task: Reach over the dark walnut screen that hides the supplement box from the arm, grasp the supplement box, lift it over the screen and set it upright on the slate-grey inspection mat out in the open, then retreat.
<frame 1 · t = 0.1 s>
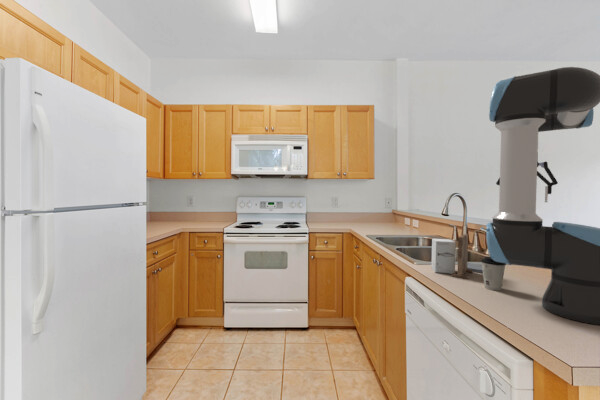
hand: (524, 202, 122), 28 cm above the countertop, fingers open, 13 cm apart
coffee cup: (492, 288, 96), on the countertop
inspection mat: (479, 270, 119), on the countertop
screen: (462, 274, 112), on the countertop
supplement box: (442, 271, 116), on the countertop
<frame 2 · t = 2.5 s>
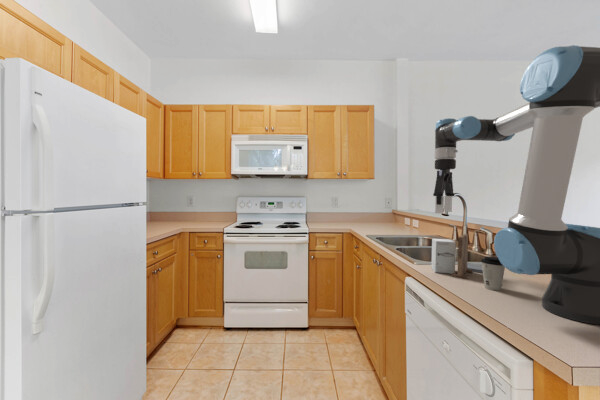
hand: (443, 212, 116), 24 cm above the countertop, fingers open, 13 cm apart
nothing on the countertop moved.
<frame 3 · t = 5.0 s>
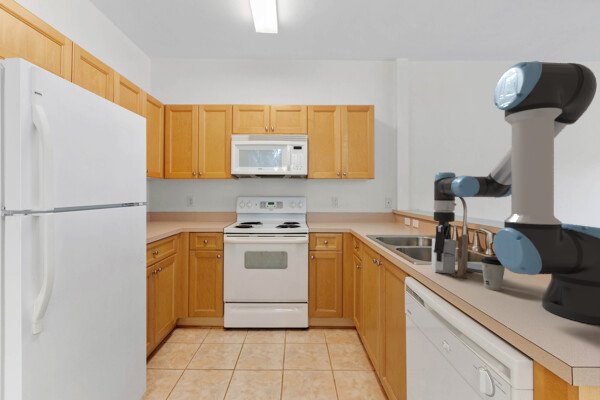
hand: (442, 267, 116), 2 cm above the countertop, fingers closed on supplement box, 9 cm apart
supplement box: (442, 271, 116), on the countertop, touching gripper
everything else where it was.
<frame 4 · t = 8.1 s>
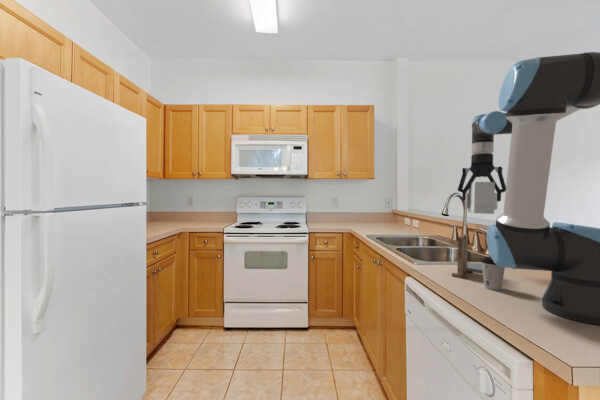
hand: (480, 209, 118), 25 cm above the countertop, fingers closed on supplement box, 9 cm apart
supplement box: (480, 213, 118), point 23 cm above the countertop, touching gripper
everything else where it was.
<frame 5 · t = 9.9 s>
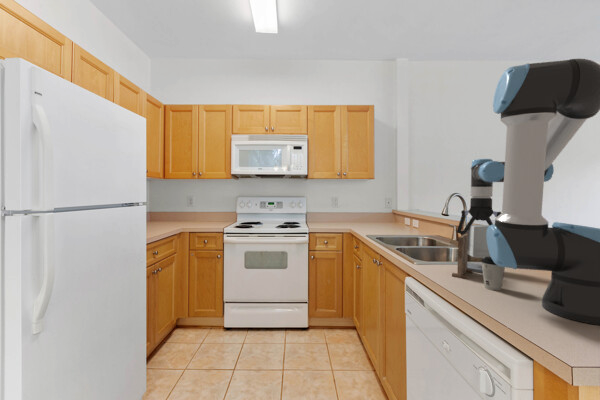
hand: (479, 252, 119), 7 cm above the countertop, fingers closed on supplement box, 9 cm apart
supplement box: (479, 256, 119), point 5 cm above the countertop, touching gripper
everything else where it was.
when the fingers open (5 cm above the countertop, at t = 11.2 s): supplement box drops 2 cm, resting on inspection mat.
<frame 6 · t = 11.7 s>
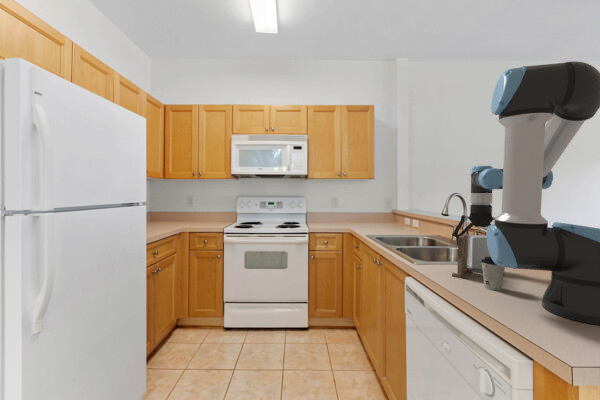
hand: (479, 256, 119), 6 cm above the countertop, fingers open, 13 cm apart
supplement box: (478, 267, 119), point 1 cm above the countertop, touching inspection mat
everything else where it was.
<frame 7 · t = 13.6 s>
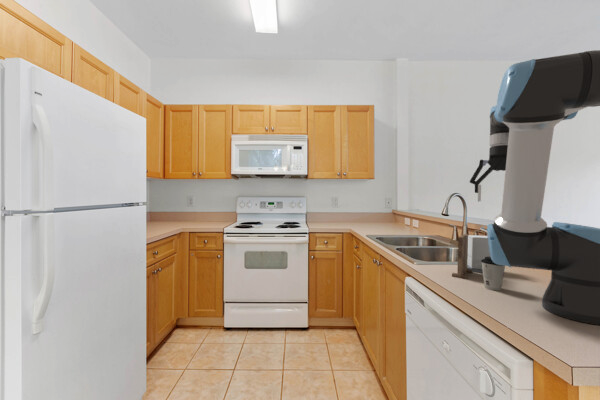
hand: (500, 201, 111), 28 cm above the countertop, fingers open, 13 cm apart
nothing on the countertop moved.
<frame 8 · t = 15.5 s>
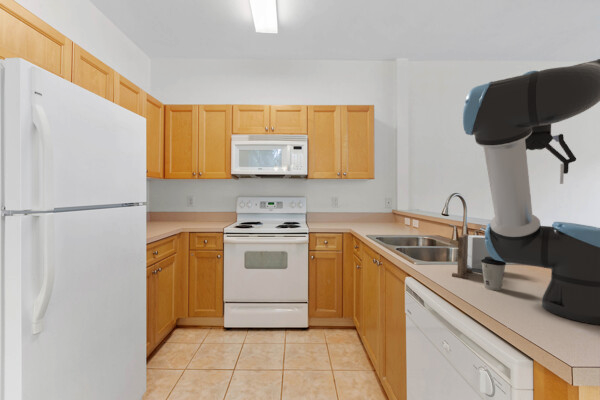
hand: (535, 184, 101), 35 cm above the countertop, fingers open, 13 cm apart
nothing on the countertop moved.
at the end: supplement box 0.2 cm from the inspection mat (horizontally); supplement box tilted 0°; the gripper is holding nothing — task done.
